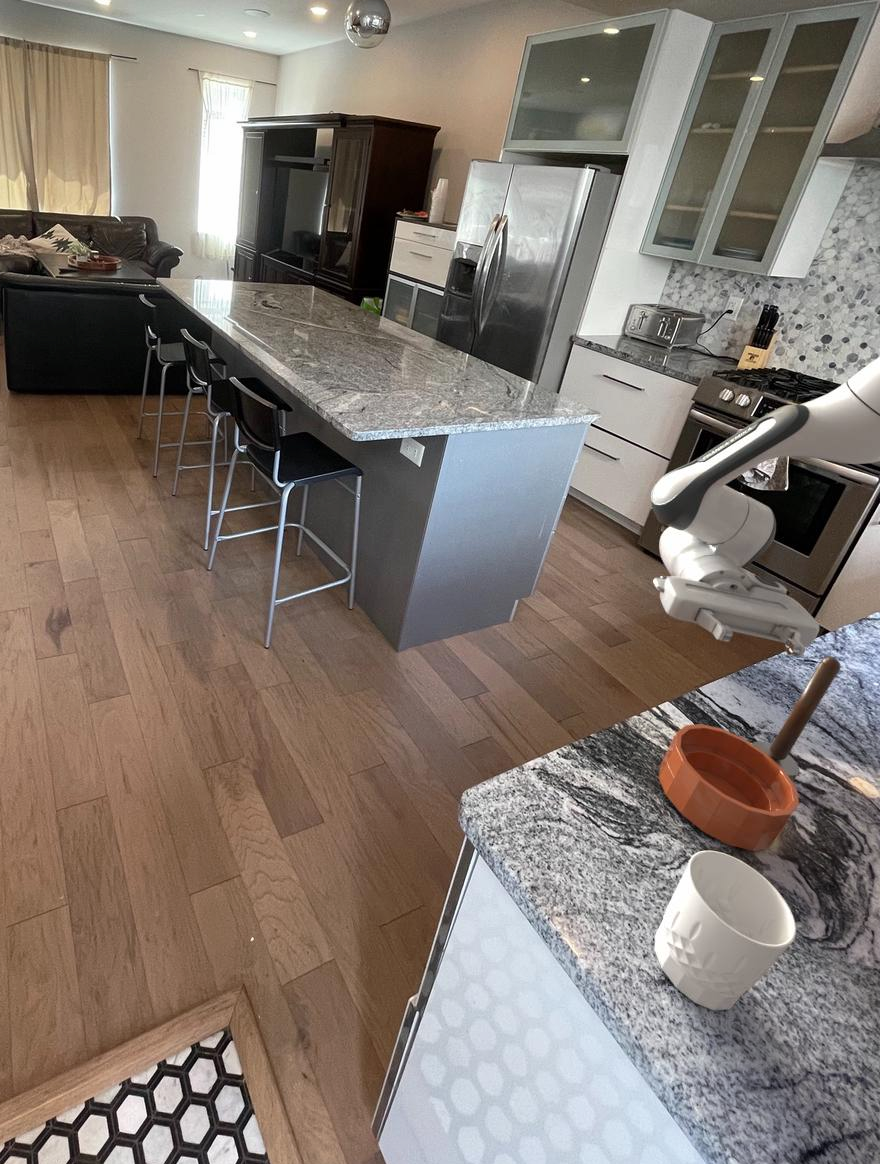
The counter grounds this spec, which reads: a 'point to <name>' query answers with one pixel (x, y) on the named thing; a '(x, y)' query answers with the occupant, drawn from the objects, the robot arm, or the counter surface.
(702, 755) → the bowl
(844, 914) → the counter surface
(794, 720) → the wooden peg on disc
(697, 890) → the white cup
